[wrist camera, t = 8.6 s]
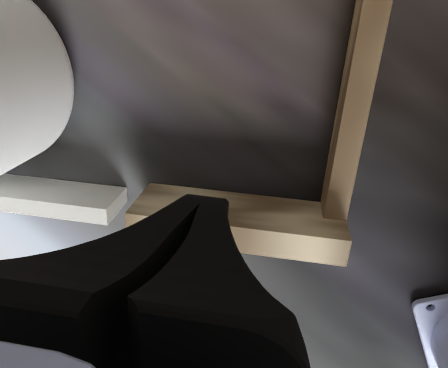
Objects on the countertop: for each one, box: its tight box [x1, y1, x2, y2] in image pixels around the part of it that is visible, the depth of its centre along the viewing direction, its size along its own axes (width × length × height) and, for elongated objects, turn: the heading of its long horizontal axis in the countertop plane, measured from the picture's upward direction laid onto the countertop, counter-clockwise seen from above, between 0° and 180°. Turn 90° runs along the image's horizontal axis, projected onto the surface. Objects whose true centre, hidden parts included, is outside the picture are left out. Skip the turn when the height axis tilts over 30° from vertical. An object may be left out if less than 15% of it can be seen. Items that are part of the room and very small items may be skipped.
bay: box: [125, 0, 393, 267], centre depth 19 cm, size 12×15×4 cm
